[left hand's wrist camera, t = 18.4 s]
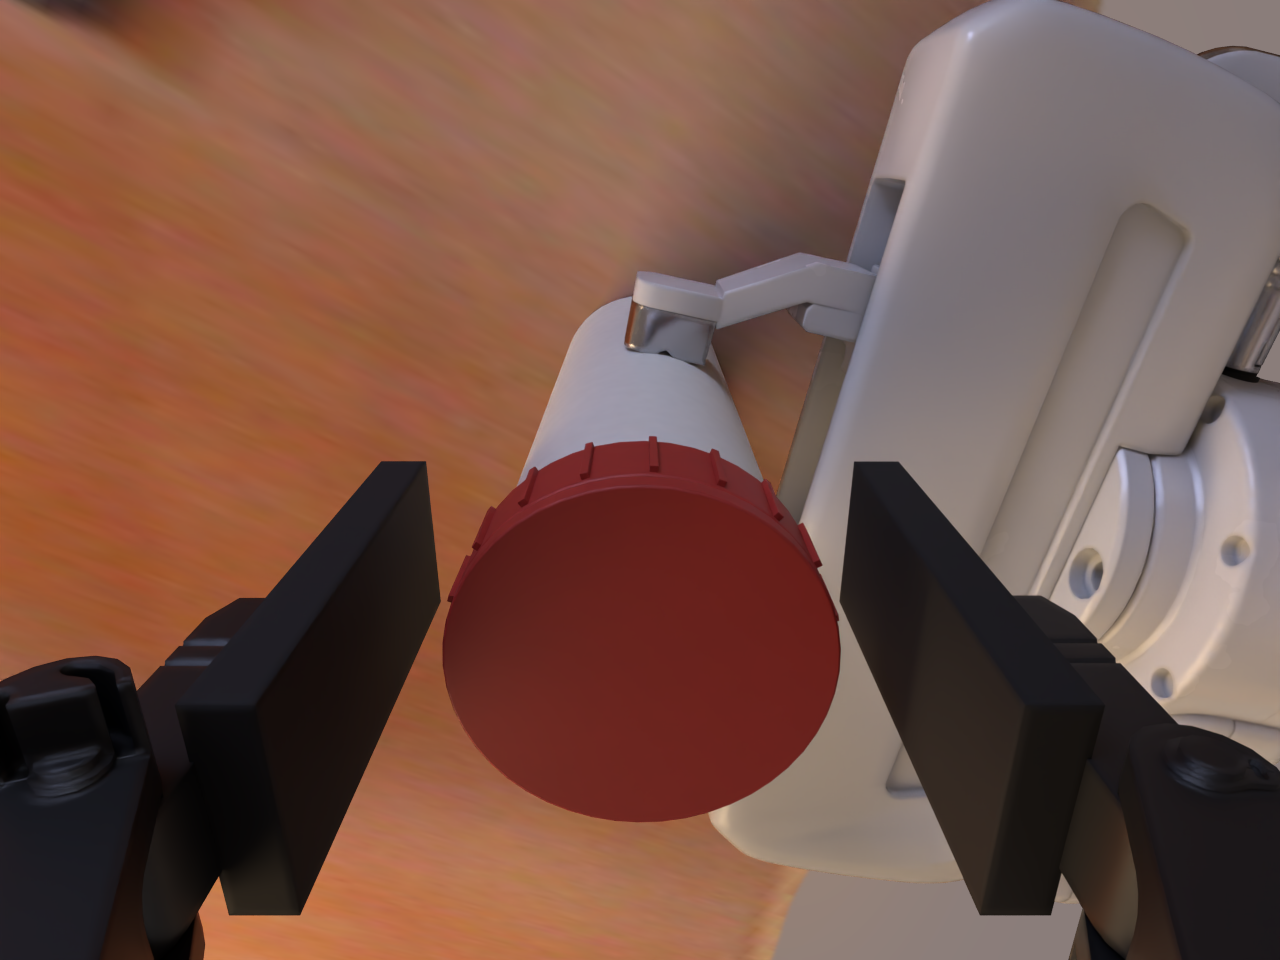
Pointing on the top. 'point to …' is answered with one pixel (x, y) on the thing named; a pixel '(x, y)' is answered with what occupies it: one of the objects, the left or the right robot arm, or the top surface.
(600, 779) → the lid
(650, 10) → the top surface
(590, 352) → the screw-top jar
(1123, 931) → the left robot arm
